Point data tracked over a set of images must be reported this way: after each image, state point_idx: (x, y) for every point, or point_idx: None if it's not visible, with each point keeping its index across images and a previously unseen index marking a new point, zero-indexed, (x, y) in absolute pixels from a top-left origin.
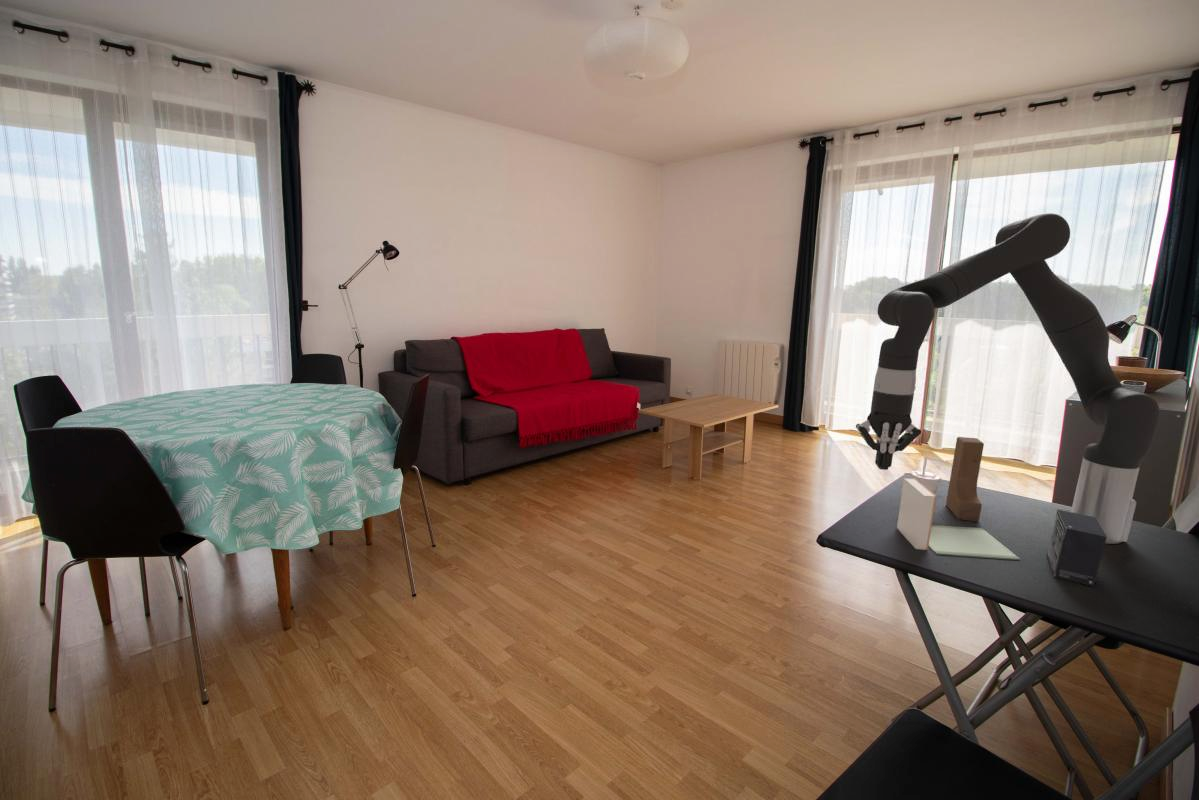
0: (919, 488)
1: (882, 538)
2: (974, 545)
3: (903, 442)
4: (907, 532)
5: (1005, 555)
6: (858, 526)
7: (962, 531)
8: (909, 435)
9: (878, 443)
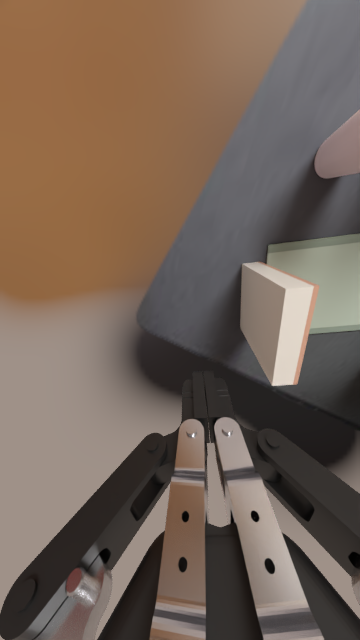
0: (285, 351)
1: (205, 308)
2: (331, 304)
3: (289, 508)
4: (243, 304)
5: (354, 324)
6: (180, 274)
7: (352, 254)
8: (348, 569)
9: (185, 457)
